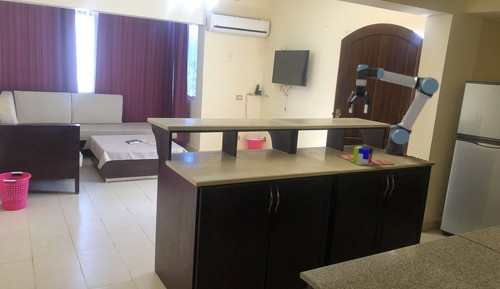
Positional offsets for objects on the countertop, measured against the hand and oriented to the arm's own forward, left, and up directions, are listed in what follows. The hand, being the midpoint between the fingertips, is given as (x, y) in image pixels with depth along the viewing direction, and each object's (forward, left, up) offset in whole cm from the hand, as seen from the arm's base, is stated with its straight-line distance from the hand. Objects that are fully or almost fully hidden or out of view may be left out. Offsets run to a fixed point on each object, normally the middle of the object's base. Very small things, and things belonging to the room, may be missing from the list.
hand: (357, 112), depth 303 cm
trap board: (+8, +27, -31) cm, 42 cm away
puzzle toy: (+15, +35, -31) cm, 49 cm away
